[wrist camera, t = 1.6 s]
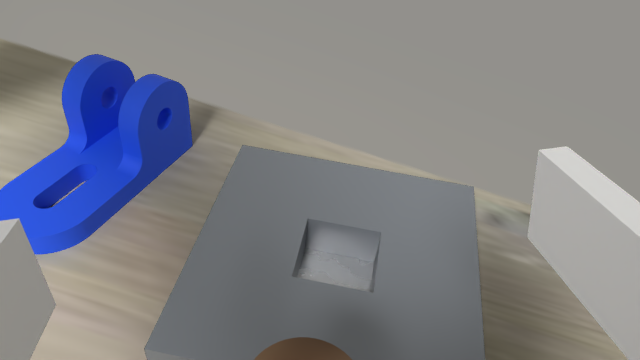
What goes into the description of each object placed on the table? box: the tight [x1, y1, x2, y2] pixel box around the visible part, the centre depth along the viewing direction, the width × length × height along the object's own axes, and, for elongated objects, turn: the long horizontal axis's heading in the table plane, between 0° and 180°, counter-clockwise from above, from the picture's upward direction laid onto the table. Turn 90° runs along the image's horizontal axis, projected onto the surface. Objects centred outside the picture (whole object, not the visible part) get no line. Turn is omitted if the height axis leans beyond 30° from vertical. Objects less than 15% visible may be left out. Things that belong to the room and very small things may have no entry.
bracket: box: [0, 54, 193, 254], centre depth 44 cm, size 18×8×9 cm, turn 154°
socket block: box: [144, 145, 485, 360], centre depth 39 cm, size 20×20×5 cm
